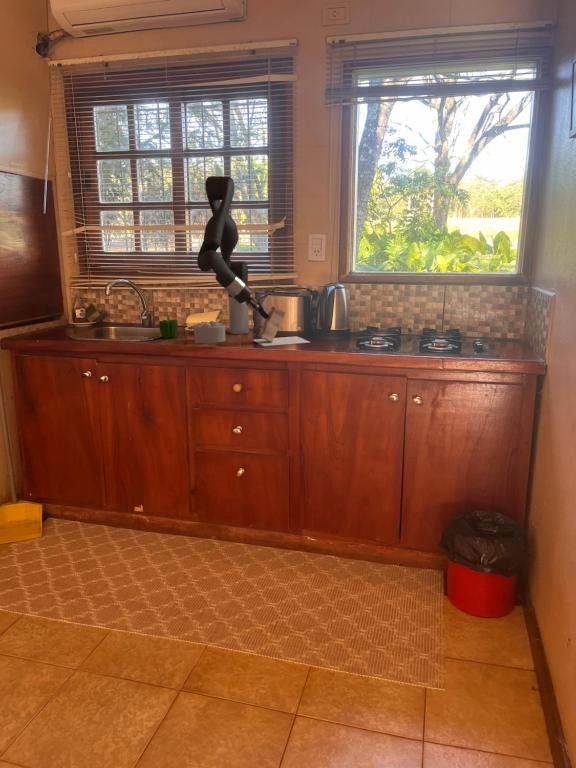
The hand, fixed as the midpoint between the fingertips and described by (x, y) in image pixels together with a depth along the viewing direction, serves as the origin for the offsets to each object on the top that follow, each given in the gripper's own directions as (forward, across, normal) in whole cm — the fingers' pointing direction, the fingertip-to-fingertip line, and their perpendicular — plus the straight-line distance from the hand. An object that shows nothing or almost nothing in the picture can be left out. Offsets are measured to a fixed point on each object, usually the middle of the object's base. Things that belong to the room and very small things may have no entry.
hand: (267, 317), depth 230 cm
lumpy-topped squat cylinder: (-7, +14, +23) cm, 28 cm away
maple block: (+6, 0, +7) cm, 9 cm away
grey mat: (+12, 0, +4) cm, 13 cm away
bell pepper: (-18, +32, +34) cm, 50 cm away
